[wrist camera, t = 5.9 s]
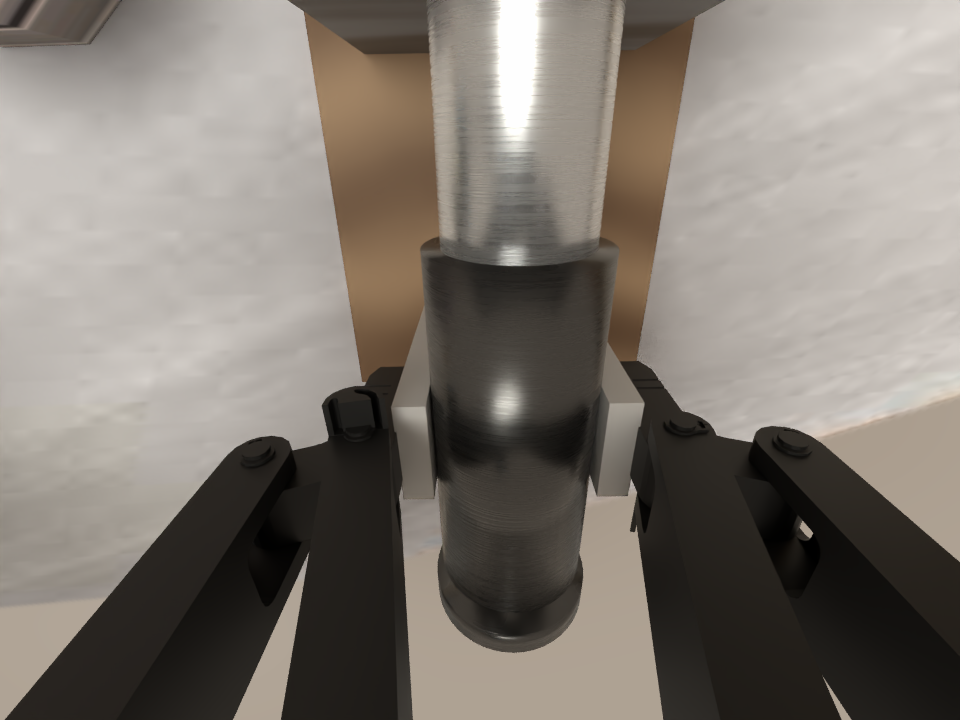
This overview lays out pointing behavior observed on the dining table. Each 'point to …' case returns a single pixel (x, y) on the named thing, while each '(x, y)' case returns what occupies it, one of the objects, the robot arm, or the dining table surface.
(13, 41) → the can
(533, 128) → the shaft
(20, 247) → the dining table surface
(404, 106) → the bearing block stand
